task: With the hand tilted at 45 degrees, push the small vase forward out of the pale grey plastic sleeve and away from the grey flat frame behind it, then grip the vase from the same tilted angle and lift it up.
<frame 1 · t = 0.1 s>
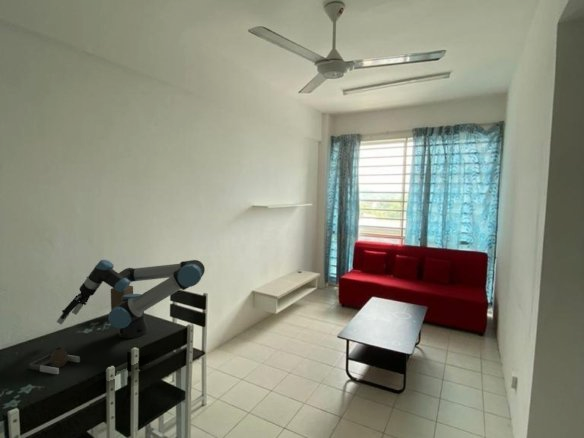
hand: (66, 318, 170), 15 cm above the table, tool tilted 35°, fingers open, 13 cm apart
block: (122, 316, 214), on the table
grey flat frame: (45, 363, 153), on the table
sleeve: (60, 366, 151), on the table
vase: (59, 366, 151), on the table
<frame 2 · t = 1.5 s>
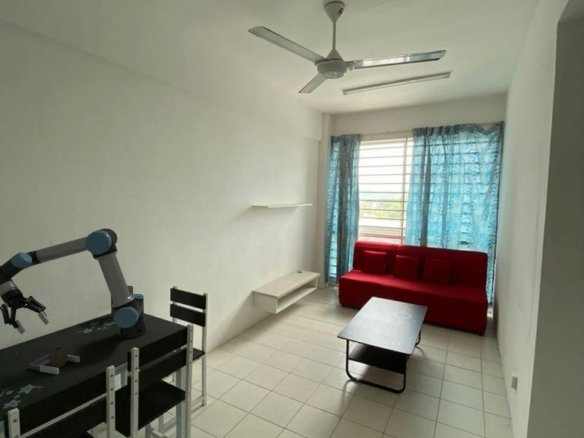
hand: (35, 327, 153), 17 cm above the table, tool tilted 45°, fingers open, 11 cm apart
nothing on the table moved.
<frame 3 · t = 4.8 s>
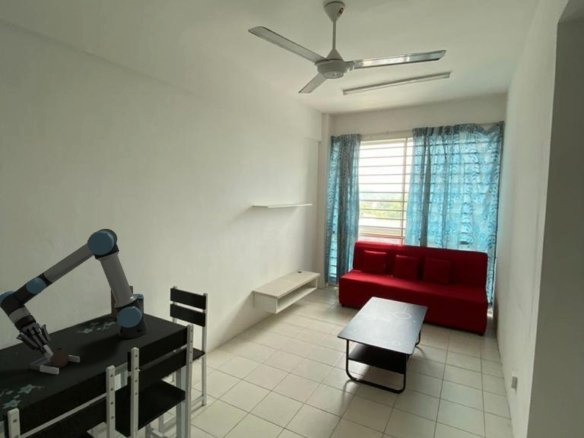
hand: (51, 357, 151), 4 cm above the table, tool tilted 45°, fingers closed
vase: (60, 366, 151), on the table, touching gripper
everything else where it was.
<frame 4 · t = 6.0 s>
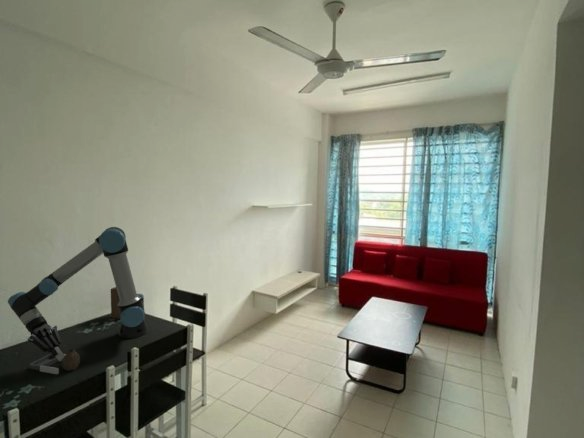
hand: (62, 359, 149), 4 cm above the table, tool tilted 45°, fingers closed
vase: (71, 369, 149), on the table, touching gripper
everything else where it was.
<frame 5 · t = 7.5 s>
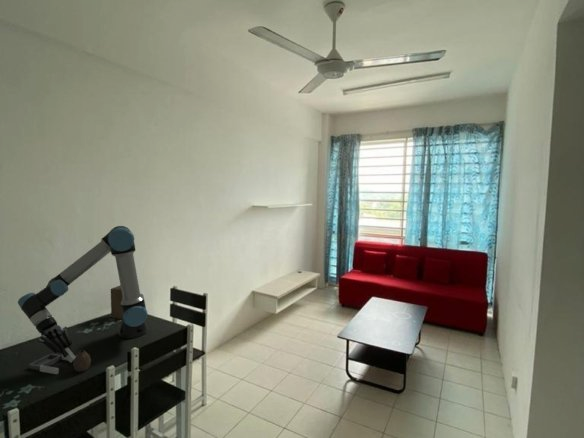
hand: (73, 360, 148), 4 cm above the table, tool tilted 45°, fingers closed
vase: (82, 369, 148), on the table, touching gripper
everything else where it was.
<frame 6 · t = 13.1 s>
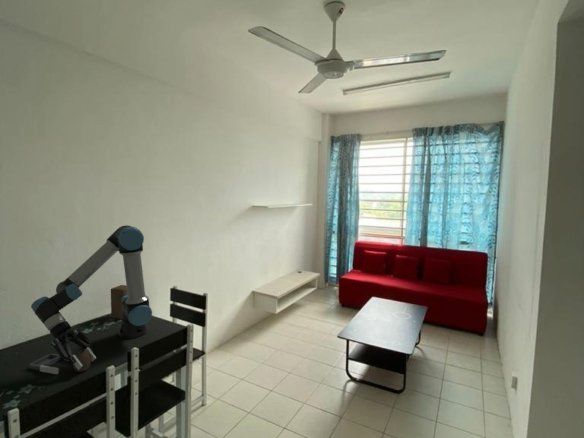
hand: (87, 363, 147), 3 cm above the table, tool tilted 45°, fingers closed on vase, 7 cm apart
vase: (82, 370, 148), on the table, touching gripper
everything else where it was.
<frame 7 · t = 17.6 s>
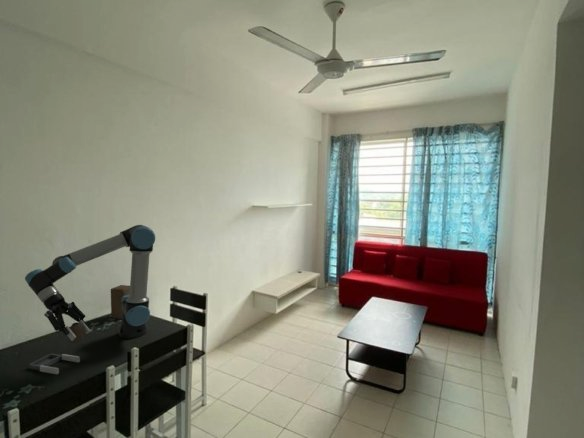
hand: (81, 335, 147), 16 cm above the table, tool tilted 45°, fingers closed on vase, 7 cm apart
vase: (75, 342, 148), point 13 cm above the table, touching gripper
everything else where it was.
at the end: the gripper is holding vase; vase point 12.8 cm above the table; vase inside the target area (2.1 cm from its centre), point 12.8 cm above the table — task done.
